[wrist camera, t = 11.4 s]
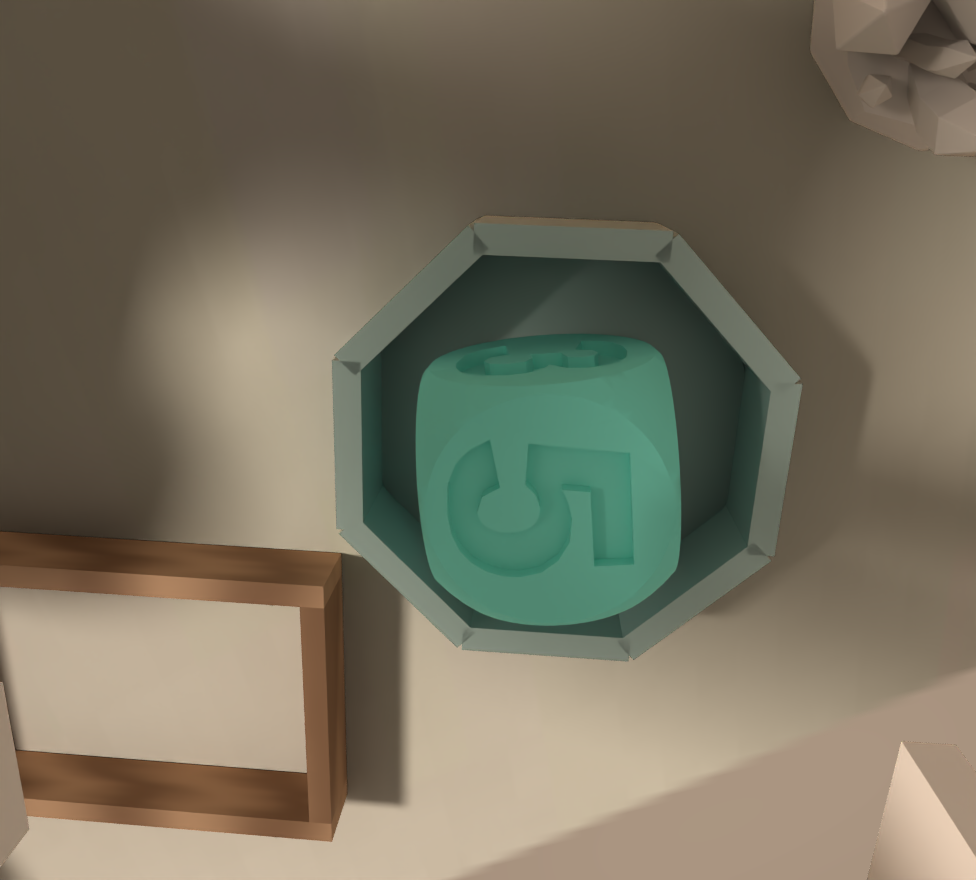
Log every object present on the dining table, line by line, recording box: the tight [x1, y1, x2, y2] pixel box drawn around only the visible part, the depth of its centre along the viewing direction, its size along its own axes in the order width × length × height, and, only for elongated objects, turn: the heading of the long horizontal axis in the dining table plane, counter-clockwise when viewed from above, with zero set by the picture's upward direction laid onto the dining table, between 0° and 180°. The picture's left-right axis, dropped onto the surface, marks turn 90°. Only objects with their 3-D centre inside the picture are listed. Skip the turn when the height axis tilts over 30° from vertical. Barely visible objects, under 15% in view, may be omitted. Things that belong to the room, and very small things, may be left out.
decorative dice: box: [416, 334, 681, 626], centre depth 29 cm, size 8×8×8 cm
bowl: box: [332, 215, 803, 661], centre depth 31 cm, size 16×16×4 cm
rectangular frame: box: [0, 531, 347, 842], centre depth 37 cm, size 20×13×3 cm, turn 88°
